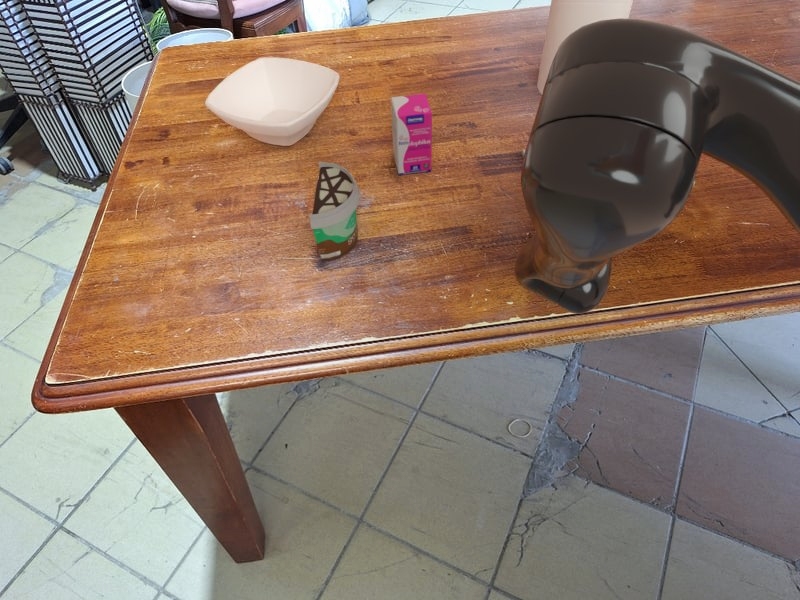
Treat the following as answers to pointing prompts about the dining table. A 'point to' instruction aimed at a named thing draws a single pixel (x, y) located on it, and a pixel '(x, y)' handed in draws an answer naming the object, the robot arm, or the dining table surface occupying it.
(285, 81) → the bowl
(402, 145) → the supplement box
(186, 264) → the dining table surface
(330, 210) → the food container
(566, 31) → the canister
